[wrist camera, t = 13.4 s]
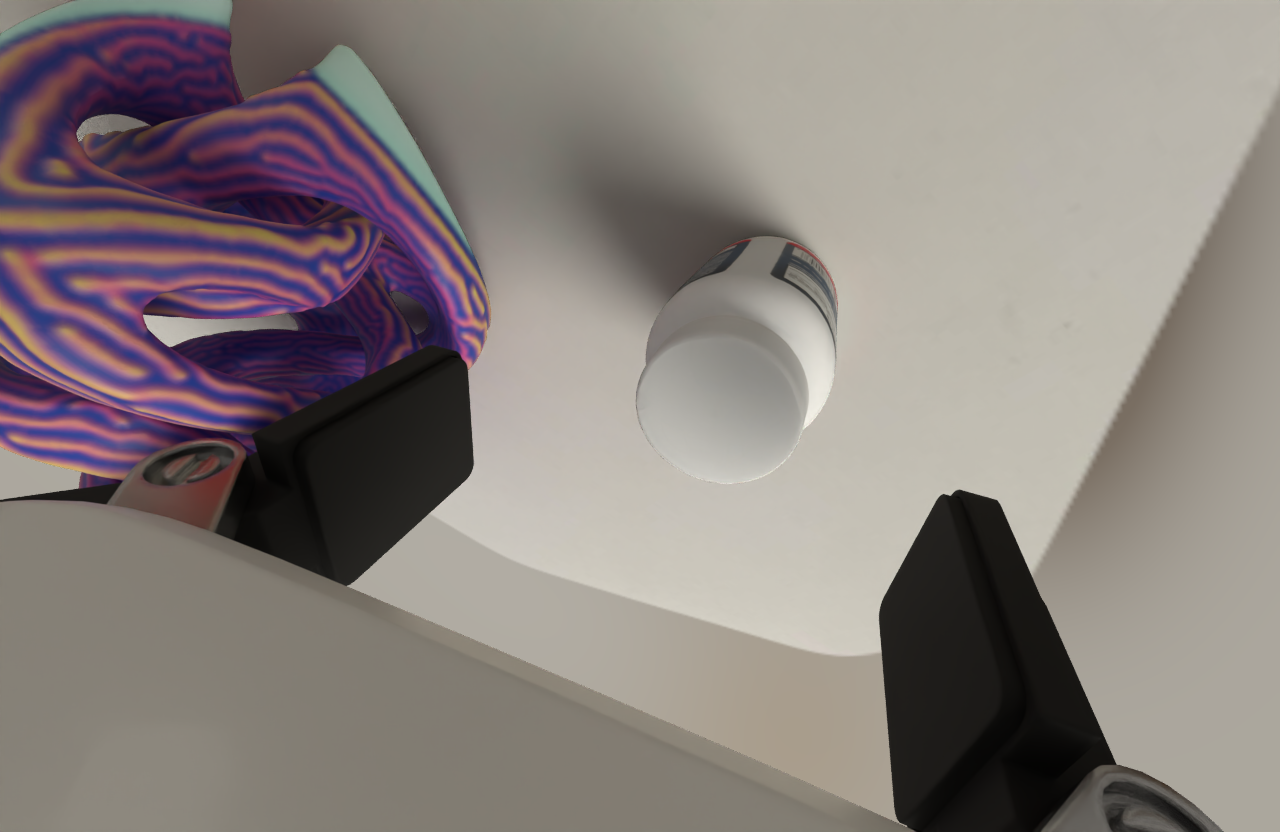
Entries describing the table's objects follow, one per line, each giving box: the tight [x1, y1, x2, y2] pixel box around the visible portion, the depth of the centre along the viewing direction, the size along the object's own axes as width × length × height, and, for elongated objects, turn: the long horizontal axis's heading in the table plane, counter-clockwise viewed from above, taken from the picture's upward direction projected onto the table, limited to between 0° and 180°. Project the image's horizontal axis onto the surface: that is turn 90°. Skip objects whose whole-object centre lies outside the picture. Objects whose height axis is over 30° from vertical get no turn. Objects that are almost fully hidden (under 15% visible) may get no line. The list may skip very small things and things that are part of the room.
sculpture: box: [0, 0, 491, 489], centre depth 19 cm, size 16×17×20 cm
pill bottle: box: [636, 236, 838, 484], centre depth 15 cm, size 5×5×9 cm
